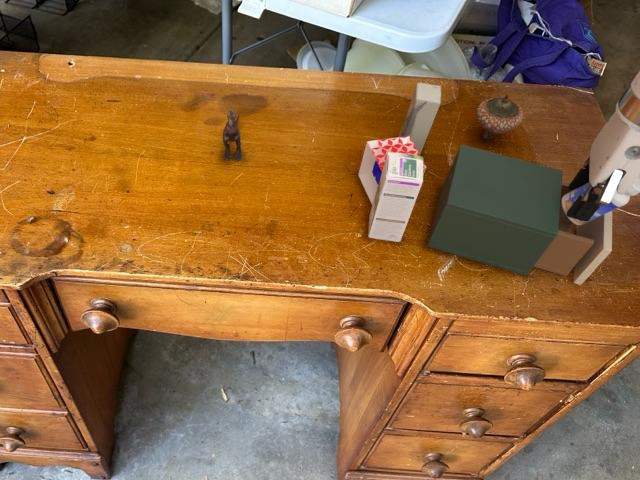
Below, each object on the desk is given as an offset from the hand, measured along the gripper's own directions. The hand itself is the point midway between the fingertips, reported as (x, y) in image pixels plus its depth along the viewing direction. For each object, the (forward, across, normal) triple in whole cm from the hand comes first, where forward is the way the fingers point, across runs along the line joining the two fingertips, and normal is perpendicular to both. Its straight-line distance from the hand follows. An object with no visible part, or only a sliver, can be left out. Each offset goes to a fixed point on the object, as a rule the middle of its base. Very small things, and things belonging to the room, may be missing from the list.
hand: (577, 203), depth 88 cm
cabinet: (+11, 0, +10) cm, 15 cm away
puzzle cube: (+12, +4, +28) cm, 31 cm away
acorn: (+11, +25, +12) cm, 30 cm away
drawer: (+10, 0, +1) cm, 10 cm away
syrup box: (+12, -6, +26) cm, 30 cm away
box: (+12, +16, +26) cm, 33 cm away
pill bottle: (+2, 0, 0) cm, 2 cm away
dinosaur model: (+12, +4, +58) cm, 60 cm away
